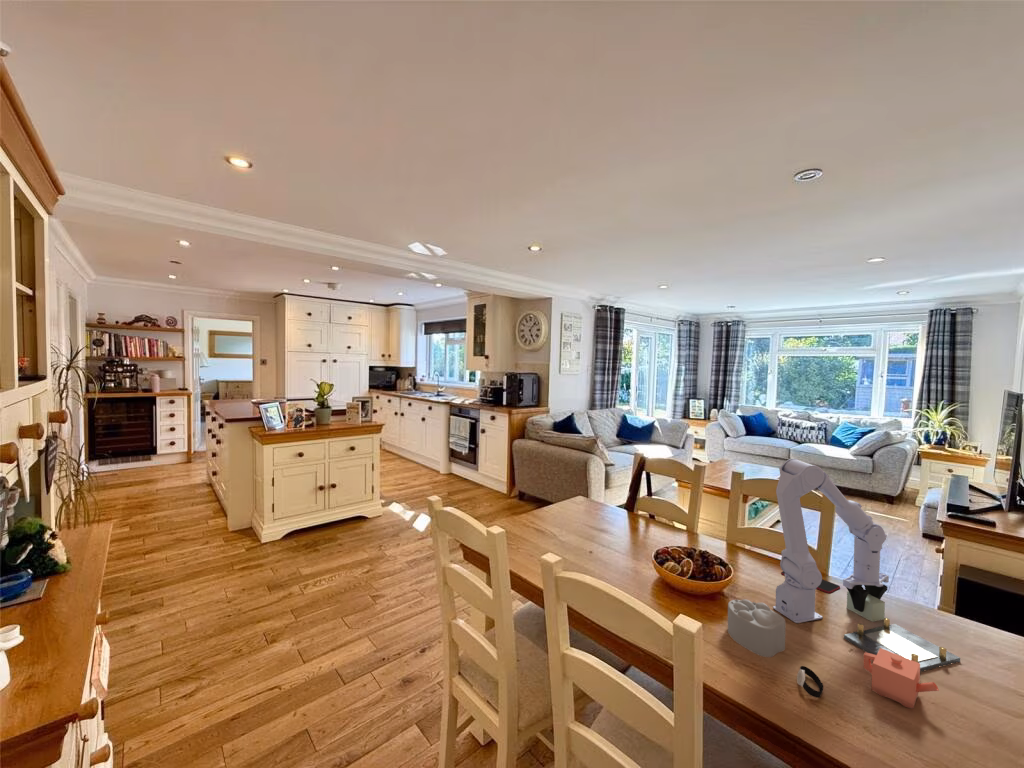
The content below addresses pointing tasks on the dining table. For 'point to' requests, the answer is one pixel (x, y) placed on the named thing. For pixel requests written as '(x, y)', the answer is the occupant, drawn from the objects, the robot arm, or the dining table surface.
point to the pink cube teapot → (896, 677)
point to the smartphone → (825, 586)
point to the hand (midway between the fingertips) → (865, 608)
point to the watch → (806, 687)
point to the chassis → (901, 645)
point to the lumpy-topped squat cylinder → (756, 627)
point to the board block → (869, 608)
